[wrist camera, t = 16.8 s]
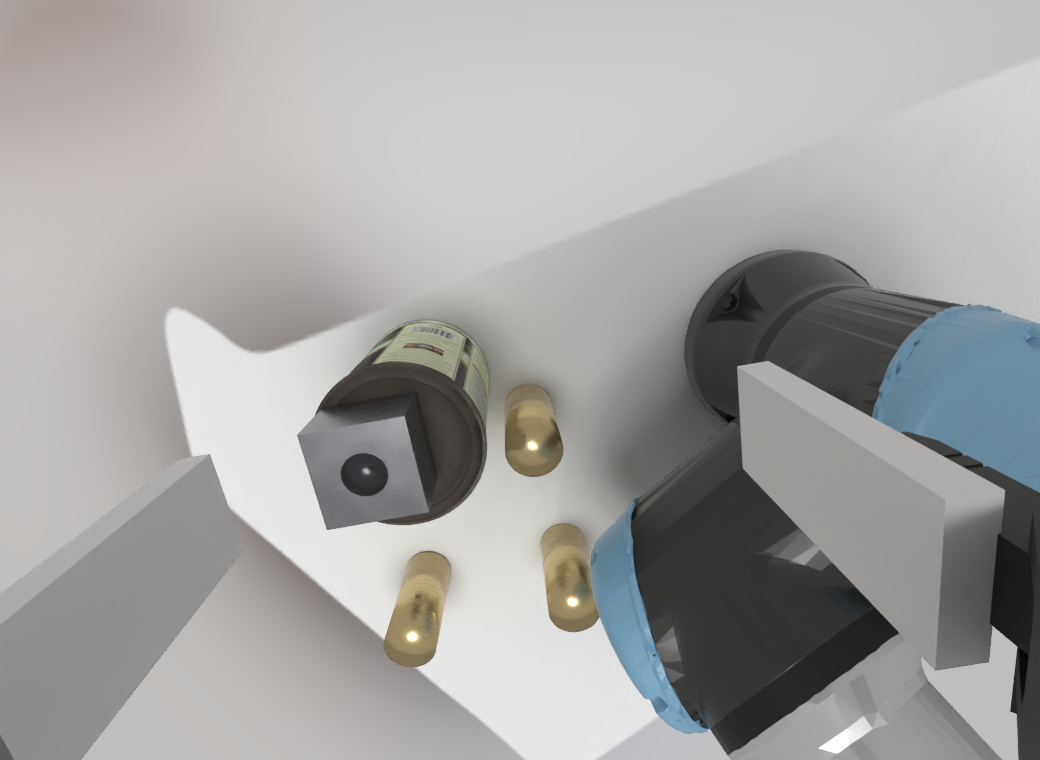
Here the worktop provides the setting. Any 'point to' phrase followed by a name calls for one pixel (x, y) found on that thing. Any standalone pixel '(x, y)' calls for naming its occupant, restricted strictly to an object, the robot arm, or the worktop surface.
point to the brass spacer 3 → (568, 579)
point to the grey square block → (369, 461)
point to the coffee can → (431, 401)
